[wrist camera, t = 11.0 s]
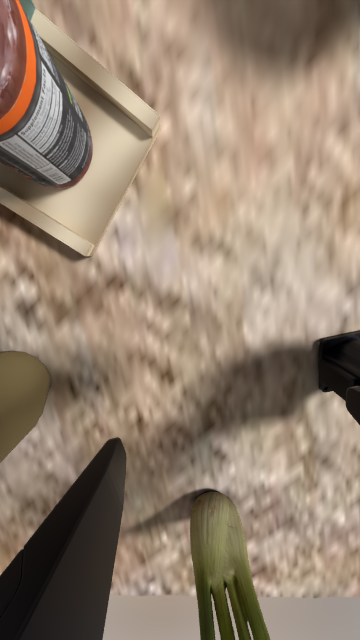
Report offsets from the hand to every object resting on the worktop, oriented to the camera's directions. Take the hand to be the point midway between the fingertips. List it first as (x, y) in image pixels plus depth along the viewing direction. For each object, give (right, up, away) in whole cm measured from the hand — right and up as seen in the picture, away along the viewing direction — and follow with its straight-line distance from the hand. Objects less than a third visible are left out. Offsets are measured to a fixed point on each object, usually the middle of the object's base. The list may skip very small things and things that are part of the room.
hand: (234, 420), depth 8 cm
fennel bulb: (+2, -20, +20) cm, 28 cm away
